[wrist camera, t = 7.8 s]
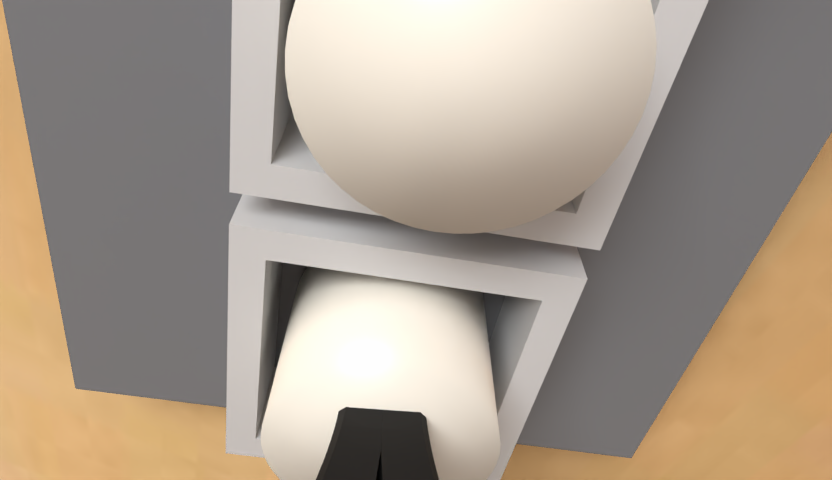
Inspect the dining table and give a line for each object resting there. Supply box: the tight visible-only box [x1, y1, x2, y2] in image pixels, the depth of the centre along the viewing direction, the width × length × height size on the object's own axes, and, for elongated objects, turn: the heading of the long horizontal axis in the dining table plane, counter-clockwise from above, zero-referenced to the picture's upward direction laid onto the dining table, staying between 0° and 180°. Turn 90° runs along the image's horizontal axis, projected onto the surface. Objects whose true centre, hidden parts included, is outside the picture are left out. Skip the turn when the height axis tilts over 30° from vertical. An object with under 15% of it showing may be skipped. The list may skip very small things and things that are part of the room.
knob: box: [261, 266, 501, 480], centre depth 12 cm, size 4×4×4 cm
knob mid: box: [285, 0, 657, 234], centre depth 8 cm, size 4×4×4 cm
